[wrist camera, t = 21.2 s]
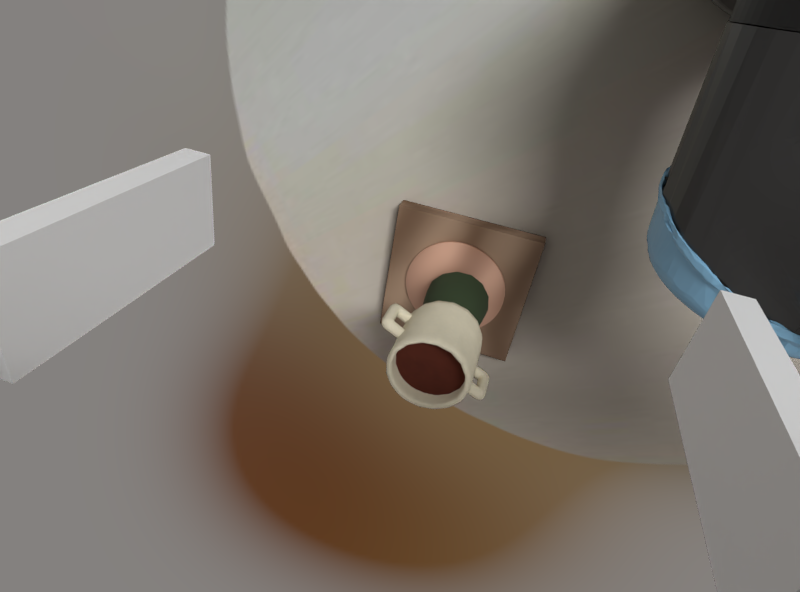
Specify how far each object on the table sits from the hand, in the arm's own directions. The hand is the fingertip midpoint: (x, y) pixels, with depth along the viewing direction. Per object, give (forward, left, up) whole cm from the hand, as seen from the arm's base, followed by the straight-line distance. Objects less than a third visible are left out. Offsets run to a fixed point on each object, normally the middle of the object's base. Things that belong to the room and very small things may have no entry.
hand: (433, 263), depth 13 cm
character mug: (+1, +21, -33) cm, 39 cm away
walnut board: (+2, +20, -35) cm, 40 cm away
